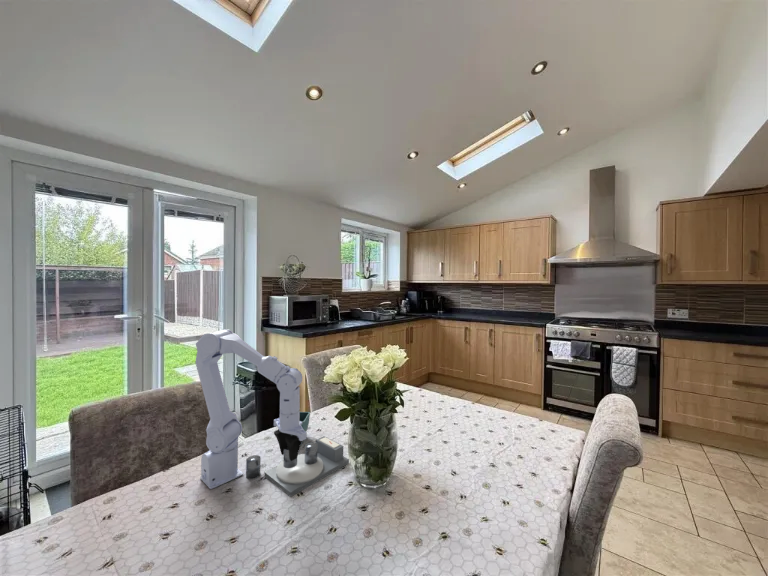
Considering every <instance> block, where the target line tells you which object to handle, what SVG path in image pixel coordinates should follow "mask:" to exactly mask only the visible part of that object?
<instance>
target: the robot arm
mask: <svg viewBox="0 0 768 576" xmlns="http://www.w3.org/2000/svg"><path fill="white" fill-rule="evenodd" d="M195 346H196V350H197V351H196V357H195V367H196V370H197V374H198V378H199V381H200V385H201V389H202V393H203V396H204V400H205V403H206V407H207V411H208V412H207V413H208V415H209V422H208V423H207V427H206V429H205V432H206V440H205V444H206V446H207V447H206V448H208V450H207V451H206V452H204V453H202V455H201V463H200V464H201V465H200V467H201V468H200V469H201V470H200V474H201V475H200V478H199V479H200V480H201V481H202V482H203V483H204V485H206V486H207V487H208V488H209V489H210V490H213V489H215V488H217V487H219V486H222V485H224V484H226V483H228V482H231V481H233V480H235V479H237V478H239V477H241V476H244V473H243V471H242V470H241V469H239V467H238V465H239V464H238V463H239V461H238V460H239V459H238V458H239V437H240V436H241V435H242V434H243V433H242V432H243V425H242V423H241V421H240V420H239V419H238V417H237V415H236V413H234V412H232V411H231V410H230V406H229V402H228V399H227V395H226V391H225V386H224V382H223V380H222V375H221V373H220V367H219V364H218V362H219V361H220V359H221V357H222V356H223V355H224V354H235V355H236V356H238V357H240V358H242V359H244V360H245V361H247V362H249V363H250V364H252V365H254V366H256V369H257V372H258V373H259V374H260V375H262V376H263V377H265V379H267V380H269V381H271V382H273V383H274V384H275V385H276V388H277V390H278V392H279V417H278V418H275V419H273V427H276V428H277V429H276V430H275V431H274V432H273V434H274V436H275V438H276V440H277V443H278V446H279V447H278V448H279V450H280V455H282V456H284V447H285V446H287V445H288V449H289V458H290V460H291V461H292V460H294V459H296V458H297V456H298V455H299V452H300V449H301V446H302V444H303V441H305V440H307V436H308V432H307V431H306V432H305V431H304V429H303V428H302V426H301V425H302V422H301V421H299V418H300V412H301V410H300V407H301V406H300V403H301V402H300V401H301V399H300V397H301V395H300V393H301V392H300V391H301V389H300V388H301V387H300V385H301V383H303V374H302V373H301V371H299V369H298V368H296V367H293V368H292V367H291V366H289V365H285V364H284V363H282V362H281V361H279V360H278V359H279V358H278V357H277V356H272V355H268V356H265V355H263V354H261V352H259V351H258V350H256V349H255V348H254V347H252V346H251V345H249V343H247V342H245V340H244V339H242V338H241V337H240V336H239V335H238V334H237V333H234V332H233V331H232V330H231V329H228V328H224V329H221V330H217V331H214V332H209V333H208V332H207V333H204V334H203V335H201V337H200V338H199V339H198V341H197V342H196V343H195ZM291 434H292V436H291Z"/></svg>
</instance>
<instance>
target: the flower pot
mask: <svg viewBox="0 0 768 576" xmlns="http://www.w3.org/2000/svg"><path fill="white" fill-rule="evenodd" d="M310 418H311V412H309V411H300V418H299V421H301V422H302V425H301V426H302V428H303V429H304V431H305V432H307V430H308V427H309V424H310ZM291 436H292V434H291Z"/></svg>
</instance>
